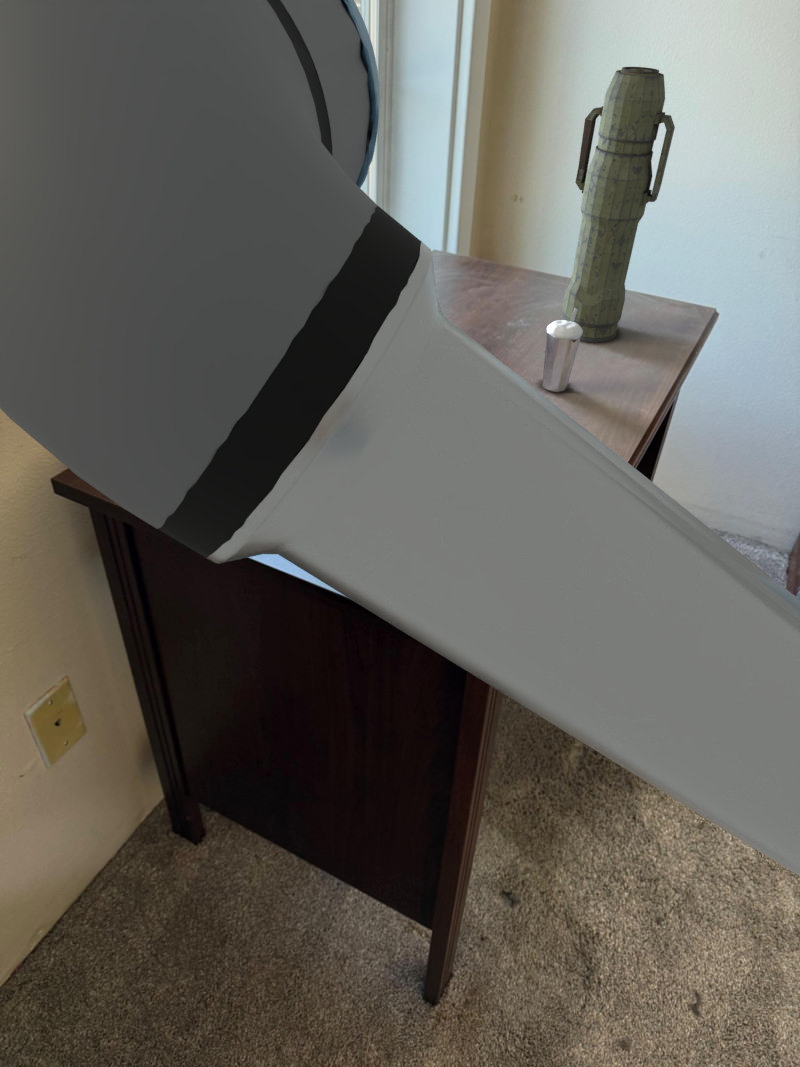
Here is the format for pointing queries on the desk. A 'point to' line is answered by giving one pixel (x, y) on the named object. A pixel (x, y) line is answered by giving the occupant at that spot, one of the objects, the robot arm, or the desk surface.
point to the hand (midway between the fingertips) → (460, 505)
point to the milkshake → (560, 353)
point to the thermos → (615, 196)
